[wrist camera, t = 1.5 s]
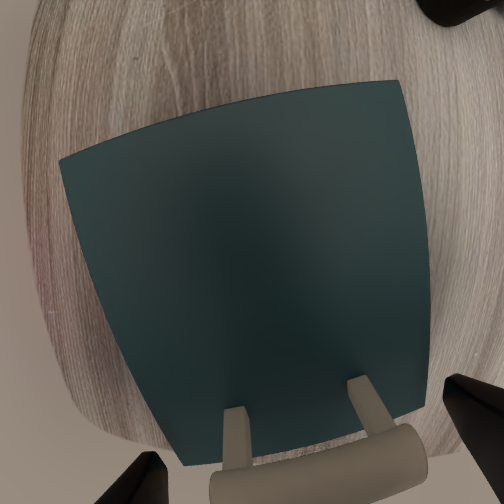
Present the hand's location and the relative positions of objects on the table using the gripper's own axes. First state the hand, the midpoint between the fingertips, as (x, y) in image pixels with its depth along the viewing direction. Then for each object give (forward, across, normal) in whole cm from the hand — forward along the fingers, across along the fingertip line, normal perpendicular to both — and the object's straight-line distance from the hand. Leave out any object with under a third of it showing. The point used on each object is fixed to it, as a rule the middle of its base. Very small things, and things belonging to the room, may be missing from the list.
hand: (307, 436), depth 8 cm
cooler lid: (+2, 0, -3) cm, 4 cm away
